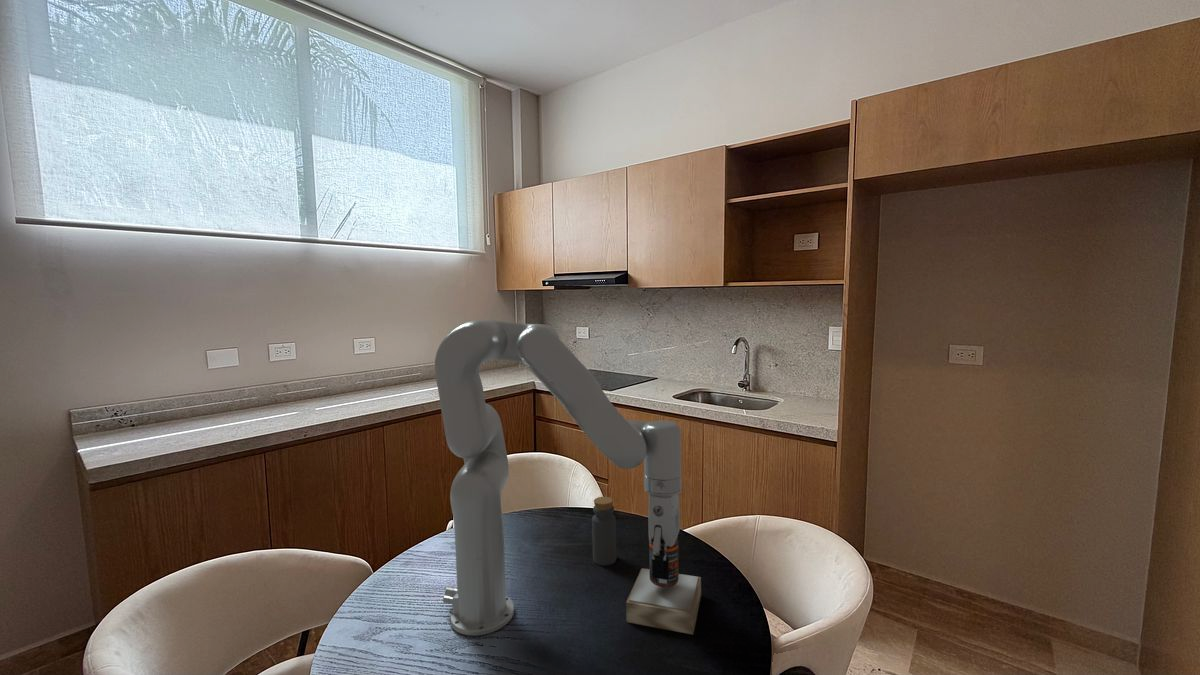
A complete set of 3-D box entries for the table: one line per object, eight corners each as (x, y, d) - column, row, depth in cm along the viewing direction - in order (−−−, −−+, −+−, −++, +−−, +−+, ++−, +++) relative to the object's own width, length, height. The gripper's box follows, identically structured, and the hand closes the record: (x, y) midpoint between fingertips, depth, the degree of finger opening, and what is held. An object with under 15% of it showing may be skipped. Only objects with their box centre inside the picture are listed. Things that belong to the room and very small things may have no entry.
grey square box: (626, 621, 94) (626, 600, 93) (641, 585, 106) (641, 566, 106) (693, 634, 89) (692, 612, 89) (701, 595, 102) (700, 575, 102)
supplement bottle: (669, 592, 93) (669, 536, 93) (644, 582, 97) (643, 528, 96) (684, 578, 98) (683, 525, 97) (658, 569, 102) (658, 517, 101)
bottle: (616, 565, 115) (615, 504, 114) (592, 565, 115) (591, 505, 114) (616, 553, 120) (615, 495, 120) (593, 553, 121) (591, 495, 120)
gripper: (673, 500, 87) (675, 596, 88) (687, 470, 103) (688, 551, 104) (634, 496, 89) (635, 589, 90) (653, 467, 106) (654, 546, 107)
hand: (663, 568), depth 97 cm, fingers closed on supplement bottle, 6 cm apart
